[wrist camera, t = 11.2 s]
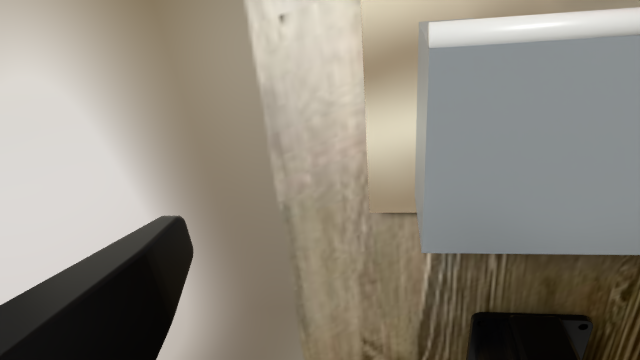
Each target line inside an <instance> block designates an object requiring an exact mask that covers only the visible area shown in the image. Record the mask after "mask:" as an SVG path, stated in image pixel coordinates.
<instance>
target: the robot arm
mask: <svg viewBox="0 0 640 360" xmlns="http://www.w3.org/2000/svg"><path fill="white" fill-rule="evenodd" d="M192 258H193V246H192V242H191V239H190V236H189V233H188V229H187V226H186V223H185V220H184V219H183V218H182V217H181V216H161V217H159V218H157V219H156V220H154V221H152V222H150V223H148V224H147V225H145V226H143V227H141V228H139V229H138V230H136V231H134V232H132V233H130V234H128V235H127V236H125V237H123V238H121V239H119V240H118V241H116V242H114V243H112V244H110V245H109V246H107V247H105V248H103V249H101V250H100V251H98V252H96V253H94V254H92V255H91V256H89V257H87V258H85V259H83V260H81V261H80V262H78V263H76V264H74V265H73V266H71V267H69V268H67V269H65V270H63V271H62V272H60V273H58V274H56V275H54V276H53V277H51V278H49V279H47V280H45V281H44V282H42V283H40V284H38V285H36V286H35V287H33V288H31V289H29V290H27V291H25V292H24V293H22V294H20V295H18V296H16V297H15V298H13V299H11V300H9V301H7V302H6V303H4V304H2V305H0V360H156V358H157V356H158V354H159V352H160V349H161V347H162V345H163V343H164V340H165V338H166V336H167V333H168V331H169V328H170V326H171V324H172V321H173V318H174V315H175V313H176V309H177V306H178V303H179V300H180V297H181V294H182V290H183V287H184V284H185V281H186V278H187V275H188V271H189V268H190V265H191V262H192ZM592 328H593V324H592V322H591V320H590V319H589V317H587V316H583V315H555V314H522V313H488V312H479V313H475V314H474V315H473V316H472V318H471V326H470V333H469V341H468V349H467V357H466V360H582V358H583V355H584V352H585V349H586V346H587V343H588V340H589V337H590V334H591V331H592Z"/></svg>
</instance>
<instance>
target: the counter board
mask: <svg viewBox="0 0 640 360" xmlns="http://www.w3.org/2000/svg"><path fill="white" fill-rule="evenodd" d="M634 7H640V0H361V18H362V43H363V67H364V91H365V115H366V140H367V164H368V188H369V212H370V213H417V210H416V202H415V161H416V119H417V78H418V36H419V22H424V21H438V20H452V19H466V18H473V19H482V18H496V17H509V16H523V15H537V14H551V13H565V12H579V11H592V10H606V9H620V8H634Z"/></svg>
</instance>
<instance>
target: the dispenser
mask: <svg viewBox="0 0 640 360" xmlns="http://www.w3.org/2000/svg"><path fill="white" fill-rule="evenodd" d="M415 202H416V210H417V218H418V226H419V234H420V243H421V251H422V253H482V254H587V255H640V7H634V8H620V9H606V10H592V11H579V12H565V13H551V14H537V15H523V16H509V17H496V18H482V19H473V18H466V19H452V20H438V21H424V22H419V36H418V78H417V119H416V161H415Z"/></svg>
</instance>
